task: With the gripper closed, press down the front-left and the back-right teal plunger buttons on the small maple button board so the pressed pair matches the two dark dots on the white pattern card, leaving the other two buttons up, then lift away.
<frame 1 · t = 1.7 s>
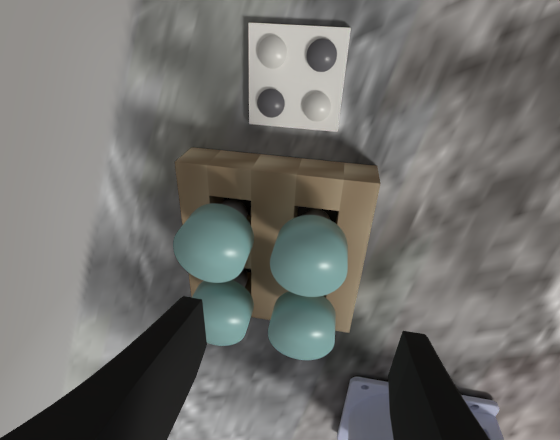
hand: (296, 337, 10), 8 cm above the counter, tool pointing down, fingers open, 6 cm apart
button a: (304, 309, 17), point 3 cm above the counter, slide at 0.0 cm
pattern card: (296, 79, 15), on the counter
button b: (226, 297, 17), point 3 cm above the counter, slide at 0.0 cm
button c: (312, 242, 15), point 3 cm above the counter, slide at 0.0 cm
button board: (277, 234, 19), on the counter
button d: (222, 230, 15), point 3 cm above the counter, slide at 0.0 cm
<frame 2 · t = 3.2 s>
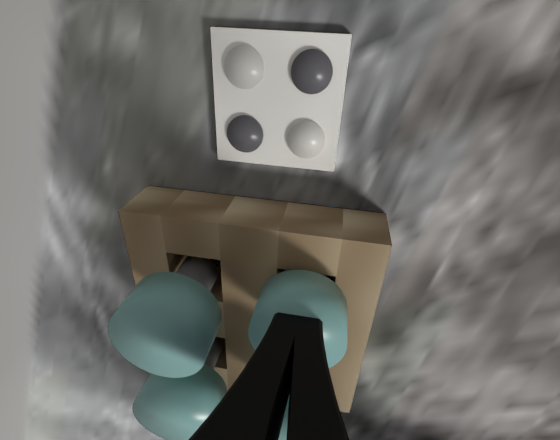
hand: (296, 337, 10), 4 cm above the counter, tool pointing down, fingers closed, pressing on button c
button a: (292, 395, 13), point 3 cm above the counter, slide at 0.0 cm
pattern card: (278, 102, 11), on the counter
button b: (192, 376, 14), point 3 cm above the counter, slide at 0.0 cm
button c: (303, 299, 12), point 2 cm above the counter, slide at 1.0 cm, touching gripper
button board: (260, 290, 15), on the counter
button d: (181, 302, 12), point 3 cm above the counter, slide at 0.0 cm
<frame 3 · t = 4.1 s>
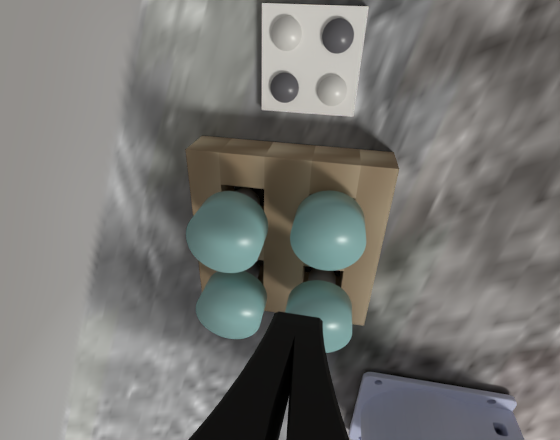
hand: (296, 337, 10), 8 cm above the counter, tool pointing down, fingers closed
button a: (319, 301, 16), point 3 cm above the counter, slide at 0.0 cm
pattern card: (310, 62, 14), on the counter
button b: (238, 289, 17), point 3 cm above the counter, slide at 0.0 cm
button c: (329, 218, 15), point 2 cm above the counter, slide at 1.0 cm
button board: (289, 225, 18), on the counter
button d: (235, 219, 15), point 3 cm above the counter, slide at 0.0 cm
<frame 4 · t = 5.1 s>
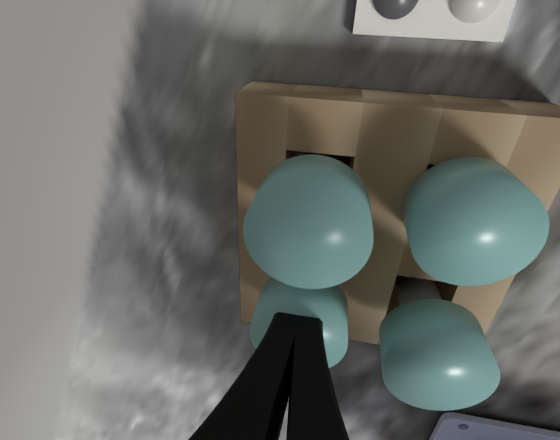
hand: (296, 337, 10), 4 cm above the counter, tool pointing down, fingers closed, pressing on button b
button a: (426, 329, 11), point 3 cm above the counter, slide at 0.0 cm
button b: (303, 299, 12), point 3 cm above the counter, slide at 0.5 cm, touching gripper
button c: (456, 204, 10), point 2 cm above the counter, slide at 1.0 cm
button board: (369, 216, 13), on the counter
button d: (313, 203, 9), point 3 cm above the counter, slide at 0.0 cm
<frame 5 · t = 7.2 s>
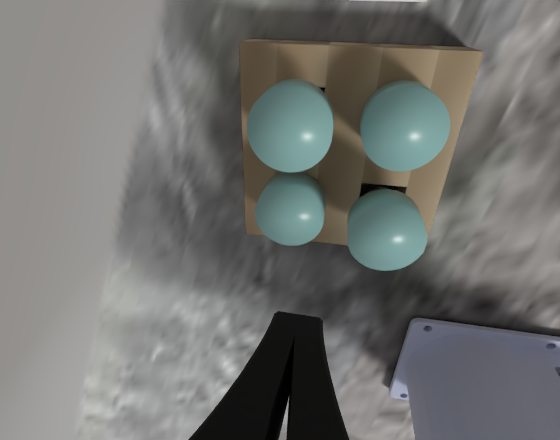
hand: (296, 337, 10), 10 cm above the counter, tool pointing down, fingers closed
button a: (382, 217, 15), point 3 cm above the counter, slide at 0.0 cm
button b: (294, 198, 16), point 2 cm above the counter, slide at 1.0 cm
button c: (398, 119, 14), point 2 cm above the counter, slide at 1.0 cm
button board: (342, 145, 17), on the counter
button d: (295, 118, 13), point 3 cm above the counter, slide at 0.0 cm
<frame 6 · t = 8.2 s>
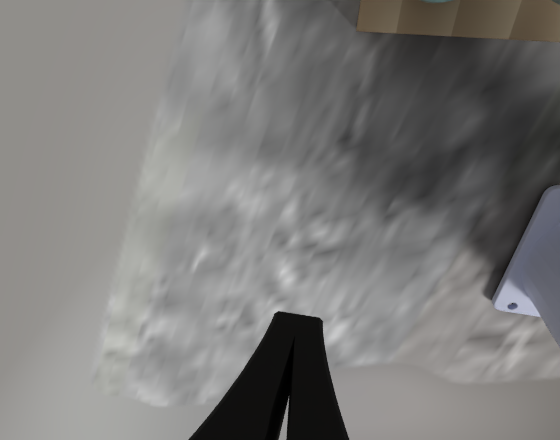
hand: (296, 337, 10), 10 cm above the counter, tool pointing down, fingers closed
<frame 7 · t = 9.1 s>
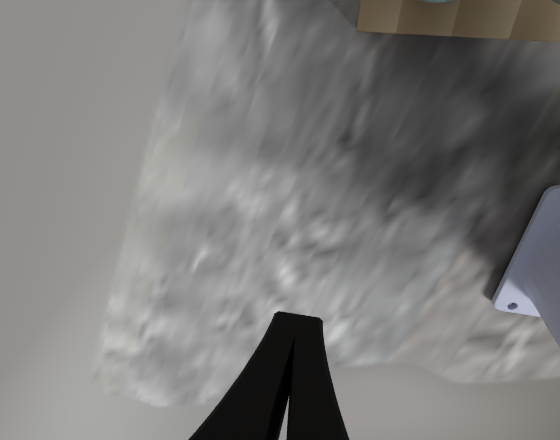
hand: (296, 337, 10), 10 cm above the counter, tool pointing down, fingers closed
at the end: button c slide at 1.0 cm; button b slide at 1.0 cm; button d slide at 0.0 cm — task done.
